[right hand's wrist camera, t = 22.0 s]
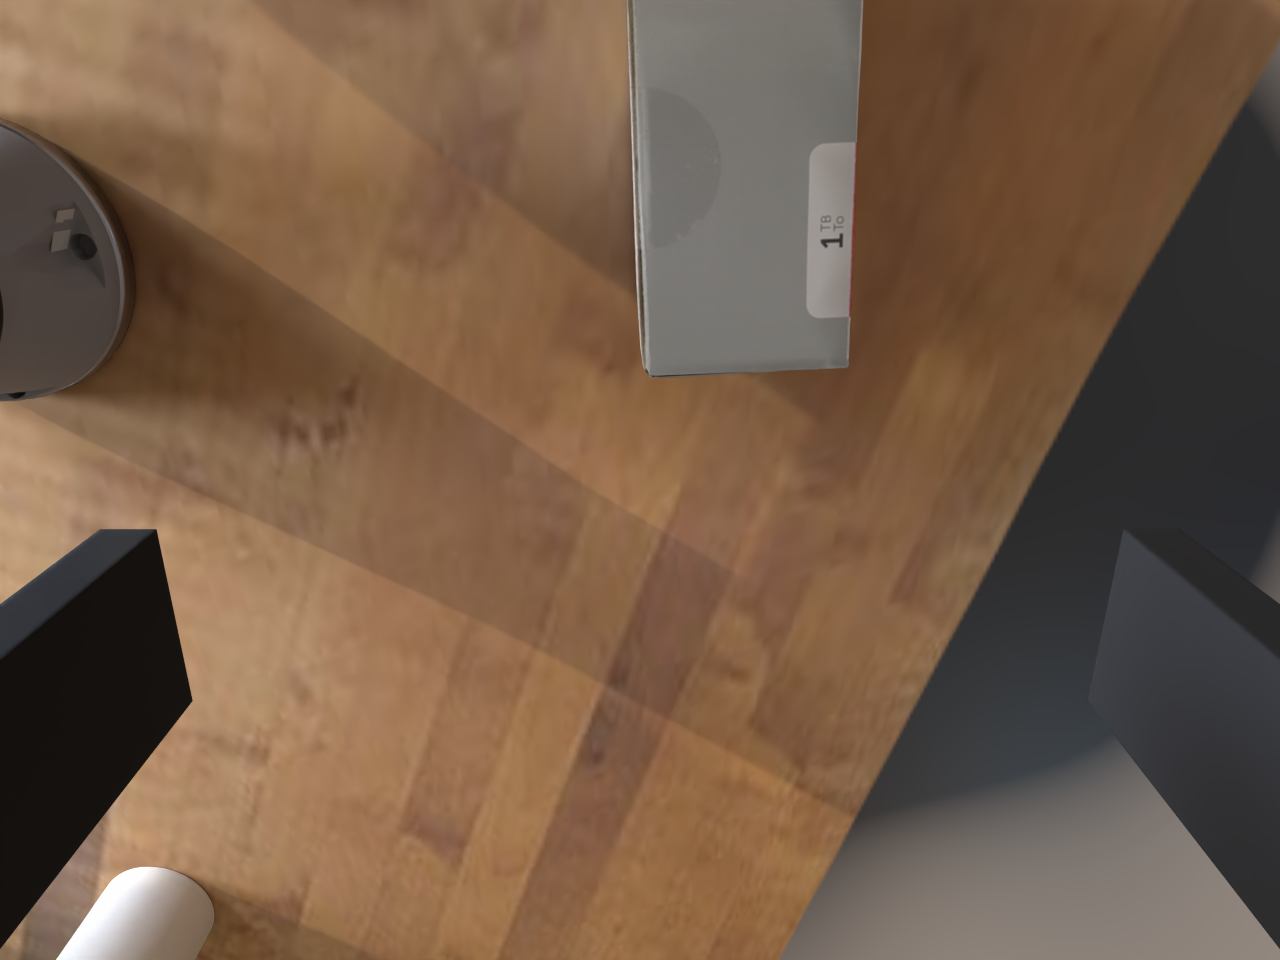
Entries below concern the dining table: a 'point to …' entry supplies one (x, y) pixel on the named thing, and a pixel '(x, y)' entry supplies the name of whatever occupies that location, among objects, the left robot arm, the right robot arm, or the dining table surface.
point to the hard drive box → (744, 182)
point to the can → (144, 919)
